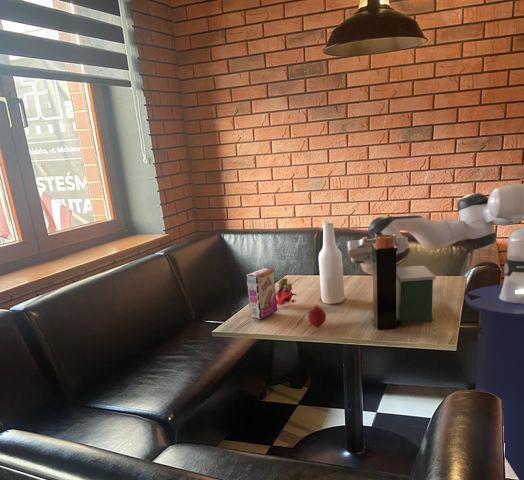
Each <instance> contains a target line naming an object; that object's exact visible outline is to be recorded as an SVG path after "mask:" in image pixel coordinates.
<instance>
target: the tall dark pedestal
mask: <svg viewBox="0 0 524 480" xmlns="http://www.w3.org/2000/svg"><path fill="white" fill-rule="evenodd" d="M371 247H372V259H373V274H372V304H373V305H372V308H373V310H372V311H373V312H372V313H373V315H372V317H373V322H374V325H375V328H376V329H377V330H379V331H380V330H383V331H384V330H395V329H397V317H396V268H397V266H396V251H397V247H396V246H395V245H394V247H392V248H376V243H374V244H371Z"/></svg>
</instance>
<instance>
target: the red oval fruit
mask: <svg viewBox="0 0 524 480" xmlns="http://www.w3.org/2000/svg"><path fill="white" fill-rule="evenodd" d="M326 318H327V316H326V312H325V311H324V310H323V309H322V308H321V307H319V304H315V305H314V306H313V307H312V308H311V309H310V311H309V312H308V315H307V319H308V322H309V324H310V325H311V326H313V327H314V328H317V329H319V328H321V326H323V324H324V323H325V322H326Z"/></svg>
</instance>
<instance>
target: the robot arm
mask: <svg viewBox="0 0 524 480" xmlns="http://www.w3.org/2000/svg"><path fill="white" fill-rule="evenodd" d="M456 207H457V212H458V215H459V219H457V218H450V217H449V218H442V219H437V220H432V219H428V218H426V217H424V216H421V215H401V216H400V215H399V216H392V215H380V216H378V217H376V218H374V219H373V220H372V221H371V222H370V223H369V227H368V235H369V237H370V238H368V236H363V237H362V238H360V239H356V240H355V239H354V240H348V241H347V255H348V258H350V261H351V263H353V264H360V267H361V270H362V272H364V273H365V274H368V275H373V259H372V247H371V244H374V243H376V239H375V233H378V232H381V233H382V234H383V235H394V245H395V246H396V247H397V251H396V267H398V266H399V265H401V264H402V263H403V262H405V260H406V259H408V257H409V254H410V252H411V248H410V246H409V239H408V237H407V236H405V235H404V236H403V235H402V233H401V231H406V232H408V233H409V234H410V235H411V236H413V238H414V239H415V240H416V241H417V242H418V243H419V244H420V245H421V247H423V248H424V249H426V250H428V251H429V250H430V251H437V250H441V249H445V248H447V247H449V246H451V245H454V244H456V243H459V242H460V241H463V242H464V243H462V245H463V246H466V247H467V248H469V249H471V250H474V251H475V250H477V251H482V250H486V249H489V248H490V247H491V246H492V245H493V244H495V243H496V241H497V232H496V231H495V226H494V225H497V226H501V227H503V226H504V227H505V226H506V227H507V226H511V225H514V224H515V225H516V224H517V223H519V222H522V221H524V183H515V184H508V185H503V186H500V187H497V188H494V189H493V190H492V192H490V194H489V196H488V197H487V196H486V195H485V194H484V193H480V192H472V193H468V194H466V195H464V196H463V197H461V199H459V200H458V201H457V206H456ZM503 271H504V279H503V282H502V283H503V284H502V285H503V287H502V290H501V293H500V295H499V298H500V299H501V300H503V301H506V302H511V303H520V304H524V224H523V225H521V226H520V227H519V228H517V229H515V230H513V231H512V232H511V233H510V235H509V236H508V238H507V251H506V257H505V260H504V265H503Z"/></svg>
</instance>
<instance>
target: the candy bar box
mask: <svg viewBox="0 0 524 480" xmlns="http://www.w3.org/2000/svg"><path fill="white" fill-rule="evenodd" d="M275 279H276V278H275V269H274V268H265V267H264V268H261V269H258V270H256V271H252V272H250V273H247V274H246V285H247V295H248V303H249V304H248V305H249V314H250V319H254V320H262V319H265V318H267V317H268V316H270V315H272V314H274V313H277V312H278V304H277V301H276V300H277V295H276V292H277V291H276V280H275Z"/></svg>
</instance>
